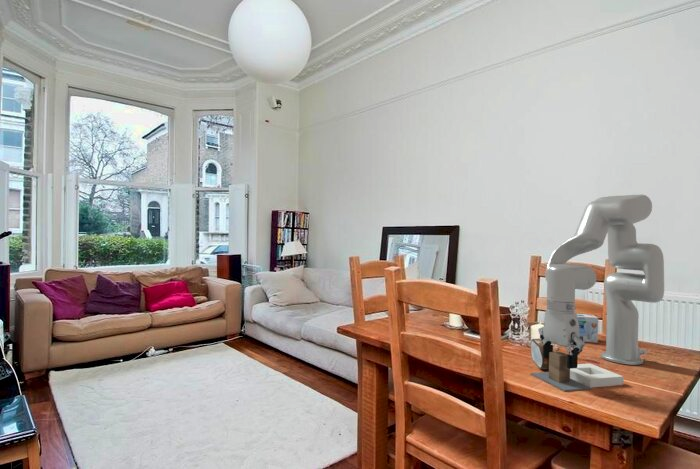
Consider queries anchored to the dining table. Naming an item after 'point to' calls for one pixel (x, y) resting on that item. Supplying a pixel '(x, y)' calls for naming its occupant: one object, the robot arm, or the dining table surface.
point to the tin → (539, 354)
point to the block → (558, 367)
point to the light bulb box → (588, 327)
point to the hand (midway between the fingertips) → (559, 362)
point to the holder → (595, 376)
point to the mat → (563, 386)
